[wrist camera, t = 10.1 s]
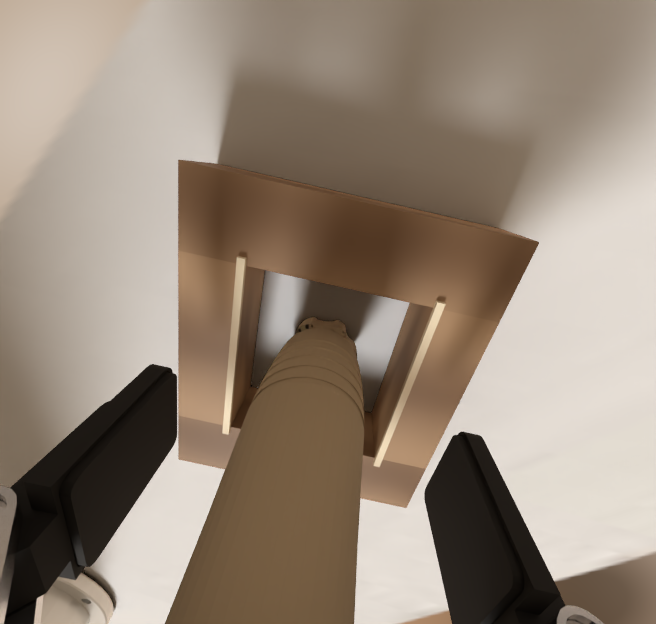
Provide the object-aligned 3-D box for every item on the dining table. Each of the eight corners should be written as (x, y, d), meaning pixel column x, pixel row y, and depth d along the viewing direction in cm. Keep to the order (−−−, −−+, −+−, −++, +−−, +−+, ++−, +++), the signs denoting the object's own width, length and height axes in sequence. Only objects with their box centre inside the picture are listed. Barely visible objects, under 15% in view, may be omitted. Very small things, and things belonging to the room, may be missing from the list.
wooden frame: (398, 458, 18) (406, 511, 15) (204, 416, 18) (176, 462, 15) (498, 228, 13) (542, 243, 10) (216, 163, 12) (175, 159, 10)
